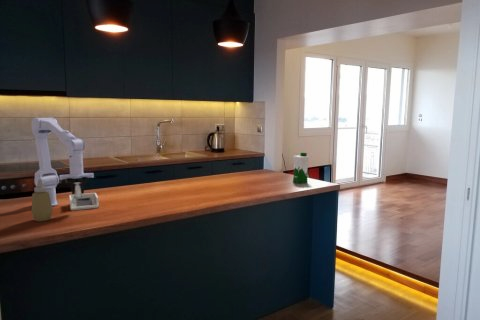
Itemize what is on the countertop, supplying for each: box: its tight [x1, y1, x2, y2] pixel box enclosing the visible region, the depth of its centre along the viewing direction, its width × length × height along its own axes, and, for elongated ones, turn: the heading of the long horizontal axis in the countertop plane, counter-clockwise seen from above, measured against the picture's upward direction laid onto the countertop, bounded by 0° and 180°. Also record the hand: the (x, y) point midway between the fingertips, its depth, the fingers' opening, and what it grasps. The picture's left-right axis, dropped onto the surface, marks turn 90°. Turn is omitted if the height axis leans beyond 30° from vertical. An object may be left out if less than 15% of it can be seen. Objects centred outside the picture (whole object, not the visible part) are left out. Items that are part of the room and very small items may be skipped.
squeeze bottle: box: [31, 179, 53, 222], centre depth 159 cm, size 8×8×18 cm
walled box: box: [68, 192, 100, 212], centre depth 183 cm, size 13×13×5 cm
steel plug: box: [73, 182, 82, 199], centre depth 171 cm, size 4×4×7 cm
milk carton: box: [292, 152, 310, 185], centre depth 245 cm, size 9×9×20 cm
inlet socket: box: [76, 198, 92, 207], centre depth 183 cm, size 7×7×2 cm
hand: (77, 193), depth 171 cm, fingers closed on steel plug, 4 cm apart
